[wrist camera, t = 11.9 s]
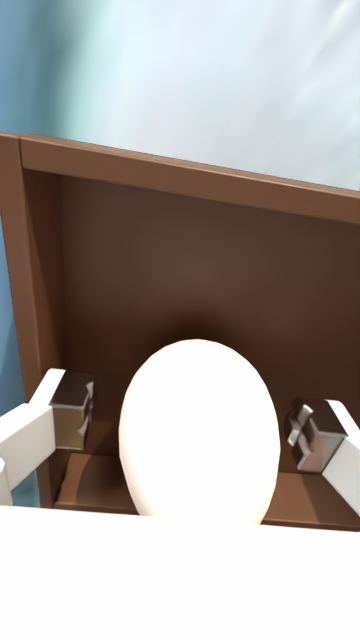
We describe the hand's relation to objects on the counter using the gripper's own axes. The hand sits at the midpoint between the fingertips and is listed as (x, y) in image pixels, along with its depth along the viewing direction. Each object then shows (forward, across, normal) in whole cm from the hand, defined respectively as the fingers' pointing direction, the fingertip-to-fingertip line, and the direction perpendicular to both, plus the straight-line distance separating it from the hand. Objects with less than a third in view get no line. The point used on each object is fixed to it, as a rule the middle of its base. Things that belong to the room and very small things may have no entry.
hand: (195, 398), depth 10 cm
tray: (+3, -4, 0) cm, 5 cm away
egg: (+2, 0, 0) cm, 2 cm away
